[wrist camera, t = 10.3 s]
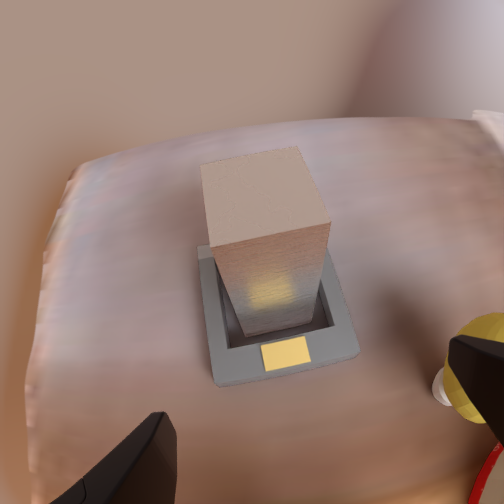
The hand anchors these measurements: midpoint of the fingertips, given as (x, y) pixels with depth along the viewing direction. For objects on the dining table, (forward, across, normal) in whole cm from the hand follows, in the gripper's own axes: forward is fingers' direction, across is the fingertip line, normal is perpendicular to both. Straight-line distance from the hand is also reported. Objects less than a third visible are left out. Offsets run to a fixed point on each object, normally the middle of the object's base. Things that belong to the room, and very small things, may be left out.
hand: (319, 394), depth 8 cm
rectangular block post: (+16, 0, +3) cm, 16 cm away
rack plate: (+16, 0, +3) cm, 16 cm away
